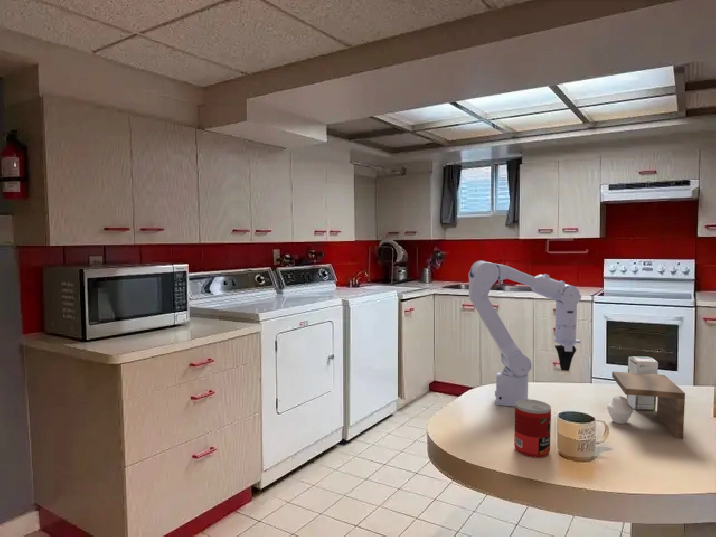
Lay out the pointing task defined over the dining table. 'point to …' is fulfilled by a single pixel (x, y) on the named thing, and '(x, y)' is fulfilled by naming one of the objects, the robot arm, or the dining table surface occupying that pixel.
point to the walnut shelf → (663, 389)
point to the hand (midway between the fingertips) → (564, 370)
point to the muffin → (619, 410)
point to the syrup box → (645, 367)
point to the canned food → (532, 428)
